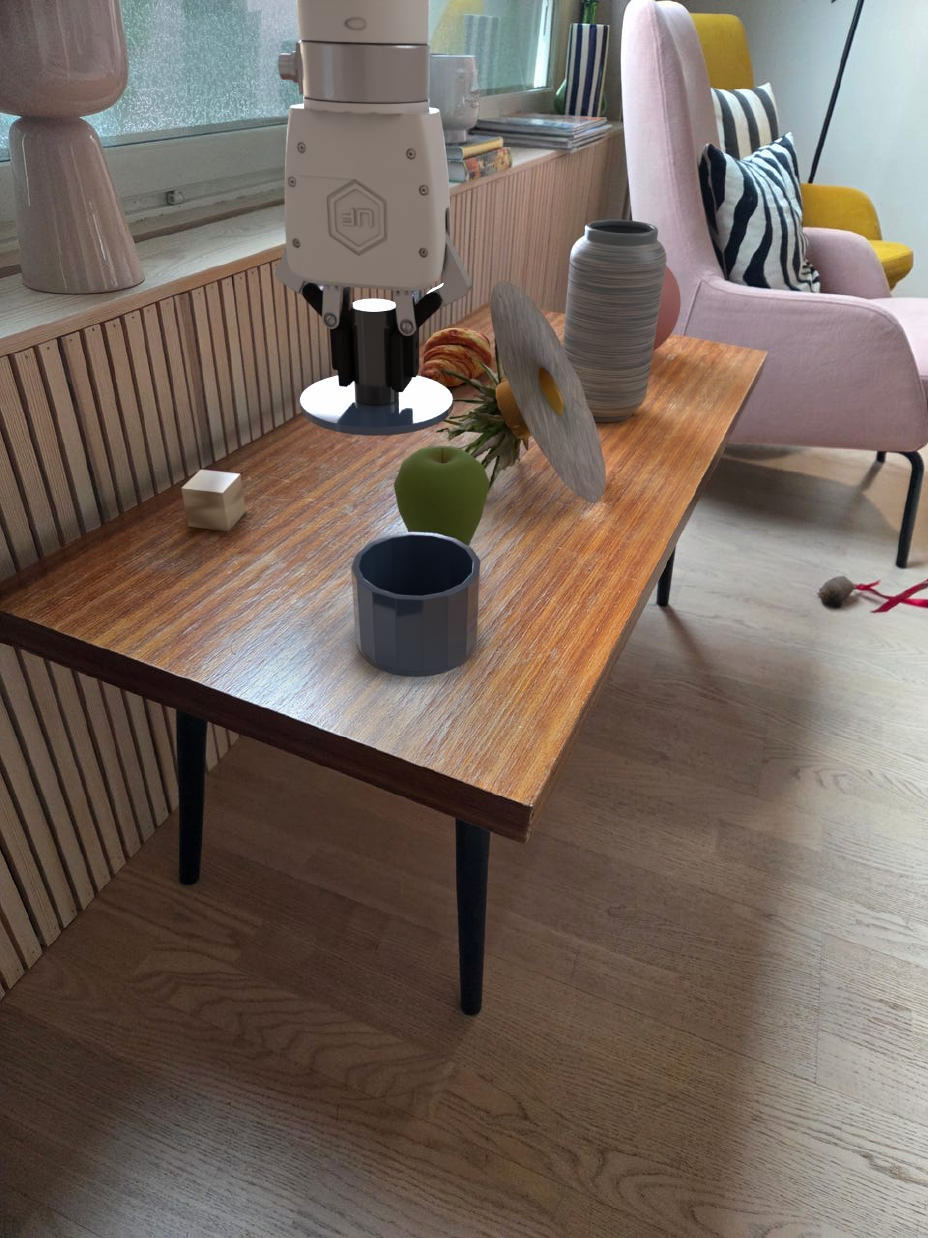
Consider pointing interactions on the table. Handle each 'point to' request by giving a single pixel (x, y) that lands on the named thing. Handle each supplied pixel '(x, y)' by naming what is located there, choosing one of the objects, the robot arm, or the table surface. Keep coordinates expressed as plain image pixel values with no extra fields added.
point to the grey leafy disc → (532, 399)
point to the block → (213, 500)
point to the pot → (416, 602)
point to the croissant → (455, 355)
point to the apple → (442, 492)
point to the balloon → (667, 309)
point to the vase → (614, 314)
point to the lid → (375, 384)
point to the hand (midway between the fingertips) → (376, 380)
